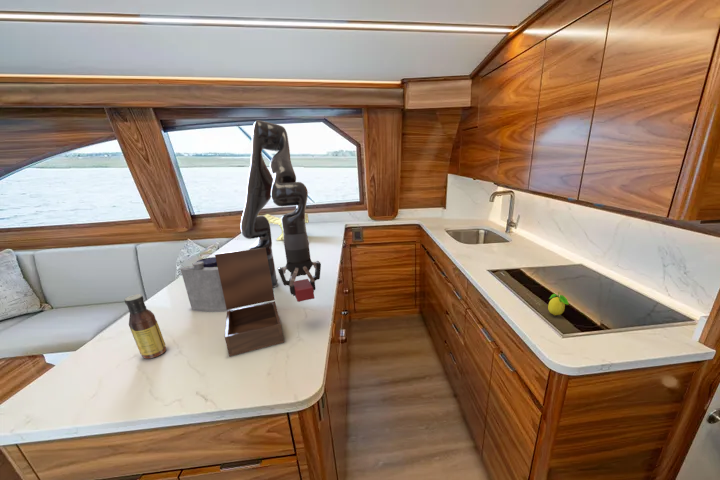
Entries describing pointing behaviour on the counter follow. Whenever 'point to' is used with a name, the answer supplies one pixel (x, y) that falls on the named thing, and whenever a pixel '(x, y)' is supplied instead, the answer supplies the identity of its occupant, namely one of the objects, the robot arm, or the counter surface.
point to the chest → (252, 328)
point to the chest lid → (245, 277)
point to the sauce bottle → (144, 328)
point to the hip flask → (203, 287)
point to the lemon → (557, 304)
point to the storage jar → (209, 262)
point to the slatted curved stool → (280, 223)
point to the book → (303, 290)
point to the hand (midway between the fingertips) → (303, 293)
